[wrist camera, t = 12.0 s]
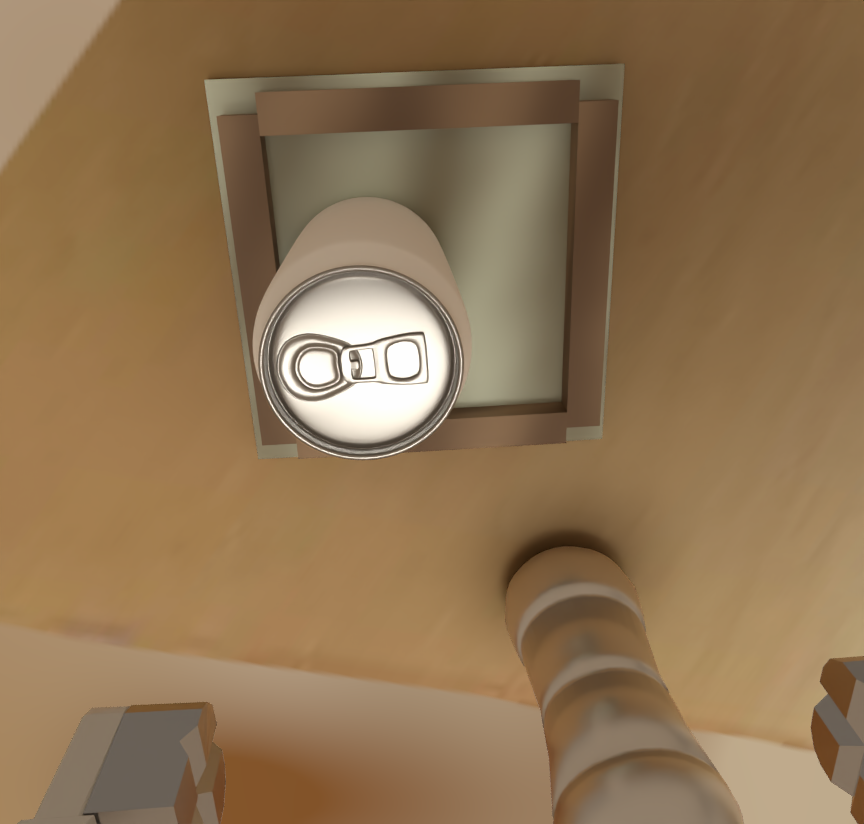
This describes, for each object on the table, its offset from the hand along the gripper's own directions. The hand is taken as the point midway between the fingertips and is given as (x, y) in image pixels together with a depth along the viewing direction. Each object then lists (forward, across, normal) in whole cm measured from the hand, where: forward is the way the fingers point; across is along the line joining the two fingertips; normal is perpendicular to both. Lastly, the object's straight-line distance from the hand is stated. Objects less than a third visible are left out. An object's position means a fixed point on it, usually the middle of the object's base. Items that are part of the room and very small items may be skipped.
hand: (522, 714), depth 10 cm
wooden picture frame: (+25, 0, 0) cm, 25 cm away
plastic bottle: (+25, -6, +17) cm, 31 cm away
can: (+24, +2, 0) cm, 24 cm away
